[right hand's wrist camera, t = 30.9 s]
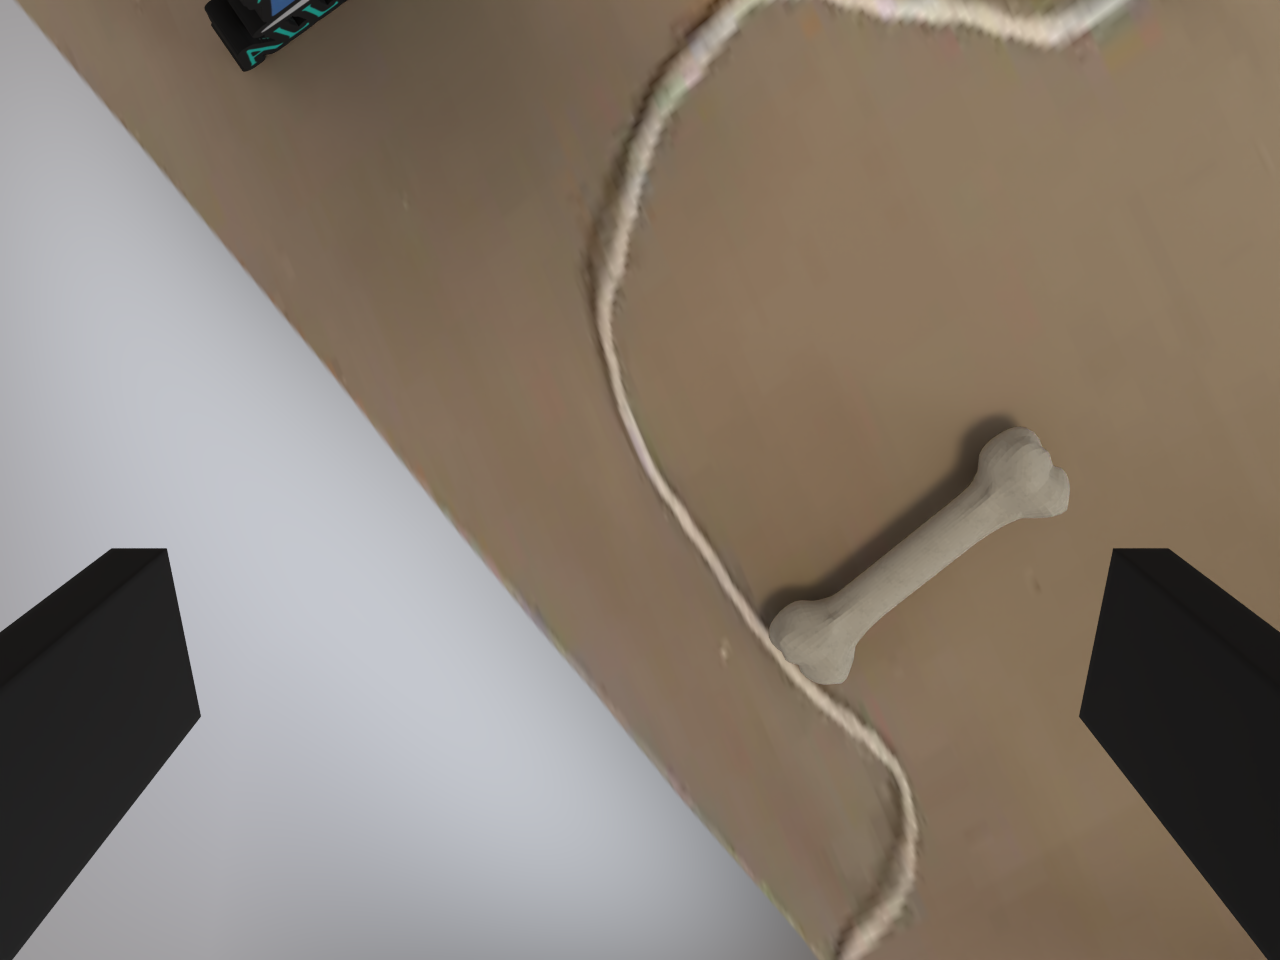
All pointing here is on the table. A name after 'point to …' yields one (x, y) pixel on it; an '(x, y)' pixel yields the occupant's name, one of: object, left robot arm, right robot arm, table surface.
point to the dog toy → (923, 554)
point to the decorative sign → (263, 24)
